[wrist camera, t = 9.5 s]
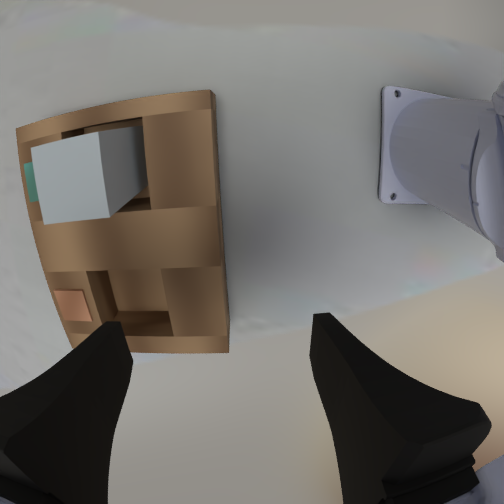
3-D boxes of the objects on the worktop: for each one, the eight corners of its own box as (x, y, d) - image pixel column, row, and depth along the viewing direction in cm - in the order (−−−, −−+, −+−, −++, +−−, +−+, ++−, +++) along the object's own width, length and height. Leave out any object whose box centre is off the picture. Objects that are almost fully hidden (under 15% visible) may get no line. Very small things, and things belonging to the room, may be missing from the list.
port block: (215, 94, 17) (209, 89, 14) (229, 321, 23) (228, 354, 20) (45, 124, 17) (13, 128, 13) (88, 321, 23) (71, 349, 20)
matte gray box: (146, 125, 17) (98, 131, 11) (152, 182, 18) (109, 217, 12) (94, 134, 17) (30, 147, 10) (100, 188, 18) (44, 224, 12)
